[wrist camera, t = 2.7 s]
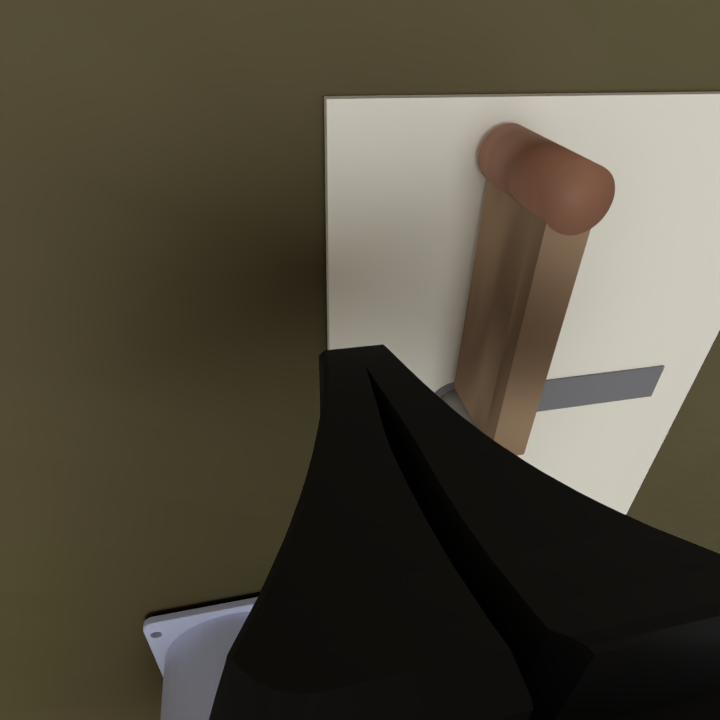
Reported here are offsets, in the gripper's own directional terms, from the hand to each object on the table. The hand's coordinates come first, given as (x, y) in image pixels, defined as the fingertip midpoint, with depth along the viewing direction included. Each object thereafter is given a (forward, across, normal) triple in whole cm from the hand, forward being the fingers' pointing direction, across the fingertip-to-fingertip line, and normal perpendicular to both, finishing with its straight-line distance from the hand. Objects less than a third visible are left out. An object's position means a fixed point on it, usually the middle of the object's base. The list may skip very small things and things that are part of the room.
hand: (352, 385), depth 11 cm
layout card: (+6, -8, +7) cm, 12 cm away
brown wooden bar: (+6, -5, +1) cm, 8 cm away
